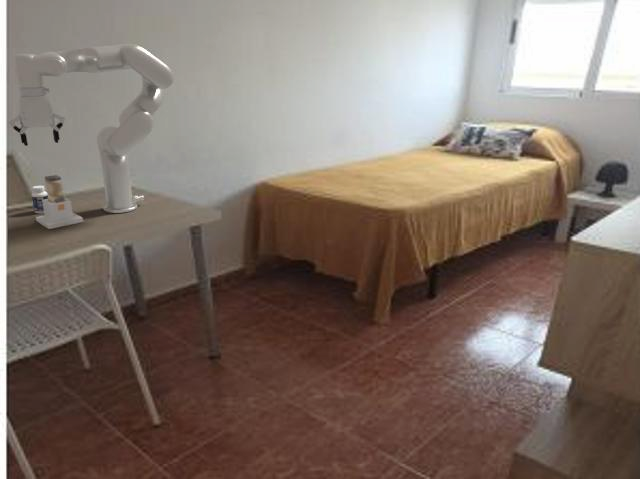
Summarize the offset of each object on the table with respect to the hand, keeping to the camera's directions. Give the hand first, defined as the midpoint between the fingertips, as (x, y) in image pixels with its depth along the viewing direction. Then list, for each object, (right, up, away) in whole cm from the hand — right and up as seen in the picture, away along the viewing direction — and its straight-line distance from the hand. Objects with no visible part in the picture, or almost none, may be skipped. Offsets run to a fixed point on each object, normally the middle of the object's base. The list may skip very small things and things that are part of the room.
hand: (41, 143), depth 185 cm
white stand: (+2, -27, +8) cm, 28 cm away
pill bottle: (-9, -23, +19) cm, 31 cm away
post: (+2, -25, +8) cm, 26 cm away
